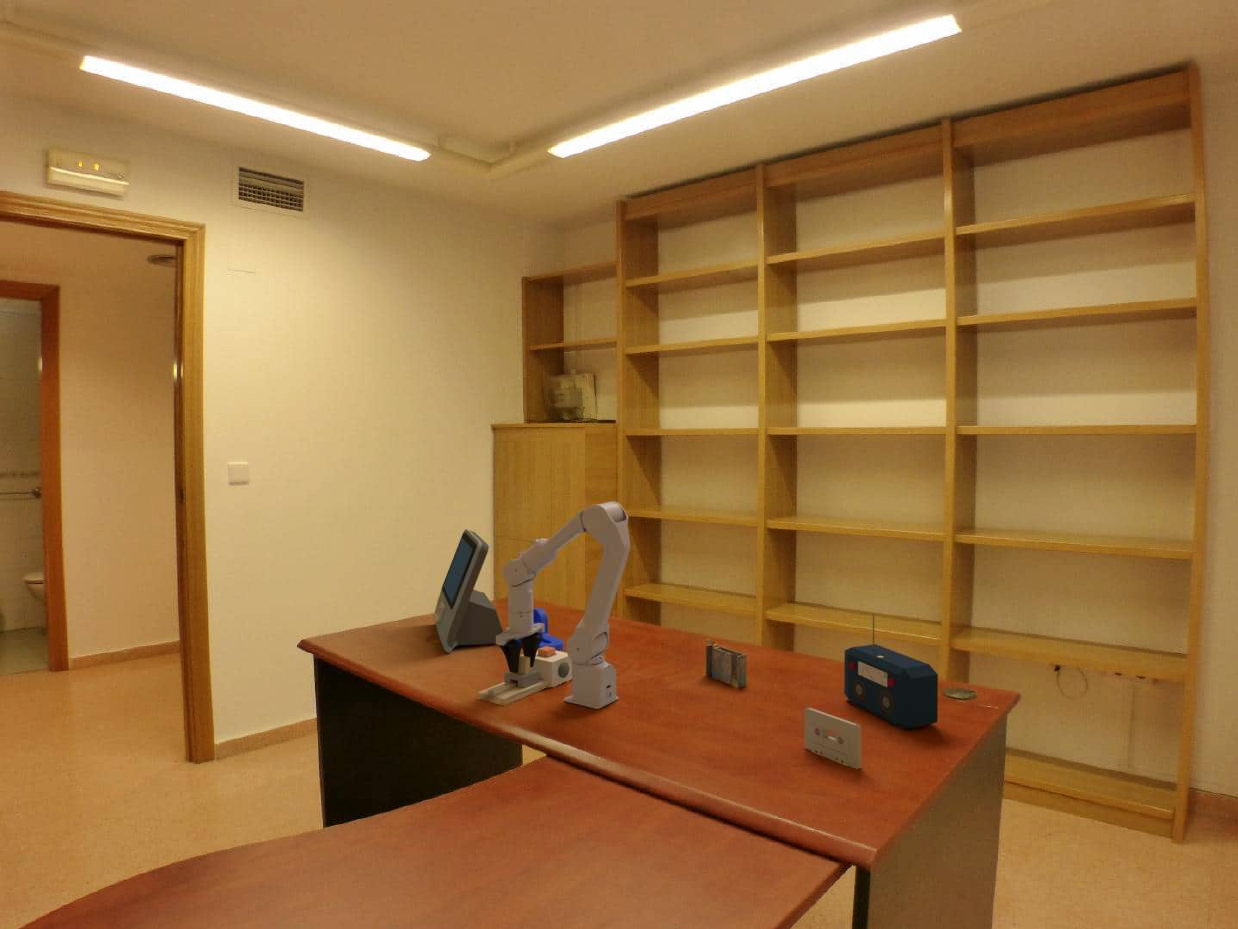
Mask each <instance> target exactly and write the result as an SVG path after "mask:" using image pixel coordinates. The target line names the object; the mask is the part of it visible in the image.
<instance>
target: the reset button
mask: <svg viewBox="0 0 1238 929" xmlns="http://www.w3.org/2000/svg"><path fill="white" fill-rule="evenodd" d="M554 655H556V649H555V648H553V647H547V646H545V647H542V648H539V649H538V656H541V657H546V658H549V657H552V656H554Z"/></svg>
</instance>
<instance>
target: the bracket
mask: <svg viewBox="0 0 1238 929" xmlns="http://www.w3.org/2000/svg"><path fill="white" fill-rule="evenodd" d="M535 623H543V624H545V632H539V633H538V635H542V636H543V640H542V641H541V643H540V645H539V647H538V649H539V648H542V647H545V646H547V647H553V648H555V649H556V651H560V650H562V651H563V650H564V649H563V648H564V640H563V639H561V638H558V637H555V636H552V635H551V634H549V619H548V616H547V613H546V611H545V609H543V608H541V607H539V608H533V624H535ZM516 642H517V643H519V644H522V643H521V639H517V640H516Z"/></svg>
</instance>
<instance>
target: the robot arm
mask: <svg viewBox="0 0 1238 929" xmlns="http://www.w3.org/2000/svg"><path fill="white" fill-rule="evenodd" d="M628 522H629V516H628V514H627V512H626V510H625V508H624V507H623V506H622V505H621V504H620V503H619V502H617V501H614V500H613V501H612V500H611V501H606V502H604V503H603V502H602V503H599V504H598V503H597V504H589V505H588V506H586V507H585V509H583V510H581V511H579V512H578V513H576V514H575V515H574V516H573V517H572V518H571V519H570V520H569V521H567V522H566V523H565V524H564V525H563V526H562V527H560V528H559V530H557V531H556V532H555V533H553V535H552V536H550V537H549V538H544V537H543V538H542V537H541V538H540V539H539V538H538V539H534V540H533V541H531V544H532V545H531V546H530V547H528V548H527V549H526V550H525V551H520V552H519V553H518V554H517V556H518V557H517V558H516V559H510V560H509V559H508V561H506V563H505V564H504V566H503V568H502V576H503V579H504V581H505V582H506V584H507V614H508V617H507V618H508V619H507V620H508V622H507V623H508V627H506V628H505V630H504V631H503V633H501V634H500V635H497V636H496V644H495V645H498V646H499V648H500V649H501V651H502V652H503V655H504V657H505V660H506V664H507V667H508V671H510V672H513V673H518V670H519V657H520V655H521V652H523V654H522V655H524V656H526V657H530V667H533V665H534V661H535V657H536V653H537V650H538V647H539V645H540V643H541V641H542V640H543V636H542V635H538V633H539V632H545V624H543V623H535V624H533V609H534V587H535V586H534V585H535V584H534V583H535V580H536V578H537V576H538V574H539V573H540V572H542V571H543V570H544V569H545V568H547V566H549V565H550V564H552V563H553V562H554V561H555V560H556V559H557V558H558V555H559V554H558V552H559V551H560V549H562V548H563V547H565V546H566V545H567V544H569V543H570V542H571V541H574V539H576V538H577V537H578V536H579V535H582V534H584V533H589V534H590V535H591V536H592V537H593V538H594V539H595V540H596V541H597V542H598V543H599V545H600V547H601V548H602V550H603V554H602V556H601V560H600V563H599V566H598V570H597V573H596V576H595V578H594V583H593V585H592V589H591V591H590V595H589V599H588V601H587V604H586V608H585V611H584V614H583V617H582V618H581V620H580V621H579V622H578V624H577V625H576V626H575V630H574V632H573V634H572V635H571V636H570V637H569V638H568V639H567V641H566V644H565V650H566V651H565V652H566V653H567V654H568V656H569V658H570V659H571V660H572V680H571V689H572V693H571V695H568V696H567V697H565V698H564V699H563V701H564V702H566V703H569V704H570V703H571V704H575V705H579V706H583V707H587V708H591V709H594V710H595V709H596V710H599V709H601V708H604V707H606V706H607V705H609V704H611V703H613V702H615V701H617V700H618V699H619V696H617V670H616V668H615V666H614V665H613V664H611V663H608V662H607V661H606V660H605V651H606V650H607V649H608V648H609V644H610V637H609V634H610V629H611V625H610V624H609V622H608V620H609V617H610V615H611V614H610V613H611V611H612V607H613V605H614V602H615V598H616V595H617V591H618V588H619V585H620V583H621V580H622V577H623V574H624V570H625V567H626V563H627V560H628V558H629V554H630V551H631V541H630V540H631V539H630V534H629V527H628V524H629V523H628ZM517 639H521V643H522V644H519V643H517V642H516V640H517Z"/></svg>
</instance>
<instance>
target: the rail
mask: <svg viewBox="0 0 1238 929" xmlns="http://www.w3.org/2000/svg"><path fill="white" fill-rule="evenodd" d="M516 687H518V681H517V680H514V681H511V682H509V683H506V684H504V685H501V686H498V687H496V688H493V689H491V690H488V695H491V696H496V695H498V694H501V693H503V692H506V691H508V690H511V689H513V688H516Z"/></svg>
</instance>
